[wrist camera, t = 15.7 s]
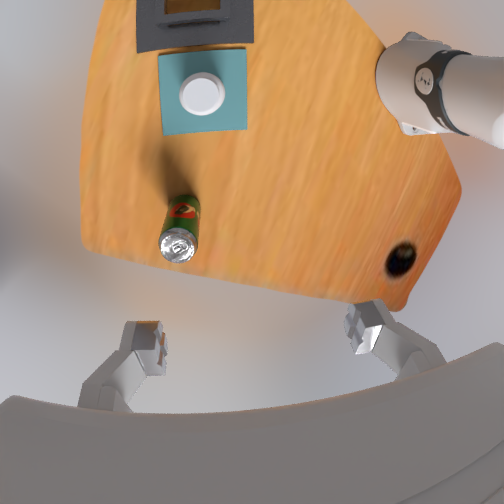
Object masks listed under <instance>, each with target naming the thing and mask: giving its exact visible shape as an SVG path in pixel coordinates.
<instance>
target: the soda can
mask: <svg viewBox="0 0 504 504" xmlns="http://www.w3.org/2000/svg"><path fill="white" fill-rule="evenodd" d="M200 212H201V208H200V204H199V202H198V201H197V200H196V199H195V198H194V197H192V196H189V195H179V196H177V197H175V198H174V199H173V200H172V201H171V202H170V205H169V208H168V211H167V214H166V217H165V221H164V224H163V227H162V231H161V234H160V238H159V248H160V250H161V253H162V255H163V256H164V258H165V259H167V260H168V261H170V262H173V263H184V262H186V261H188V260H189V259H191V257H192V256H193V255H194V254H195V253H196V251H197V248H198V237H199V224H200Z"/></svg>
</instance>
